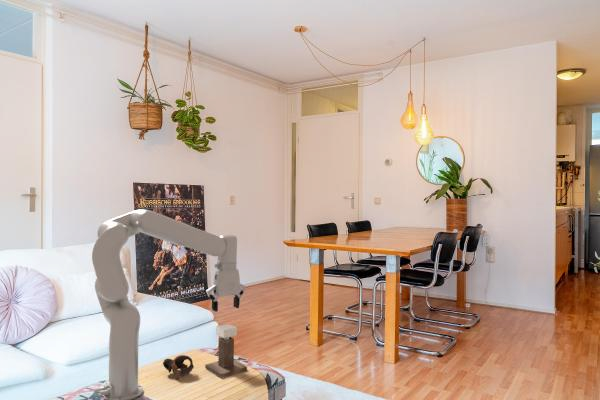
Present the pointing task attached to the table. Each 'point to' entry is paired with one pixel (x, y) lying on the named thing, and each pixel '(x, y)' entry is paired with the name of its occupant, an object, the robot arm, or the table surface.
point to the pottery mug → (178, 365)
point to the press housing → (226, 360)
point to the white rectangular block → (226, 331)
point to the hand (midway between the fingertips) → (225, 309)
